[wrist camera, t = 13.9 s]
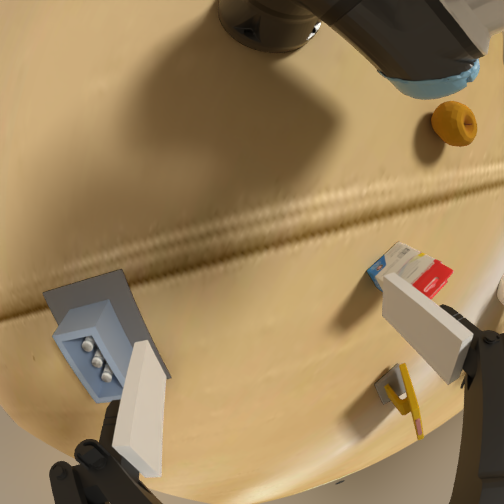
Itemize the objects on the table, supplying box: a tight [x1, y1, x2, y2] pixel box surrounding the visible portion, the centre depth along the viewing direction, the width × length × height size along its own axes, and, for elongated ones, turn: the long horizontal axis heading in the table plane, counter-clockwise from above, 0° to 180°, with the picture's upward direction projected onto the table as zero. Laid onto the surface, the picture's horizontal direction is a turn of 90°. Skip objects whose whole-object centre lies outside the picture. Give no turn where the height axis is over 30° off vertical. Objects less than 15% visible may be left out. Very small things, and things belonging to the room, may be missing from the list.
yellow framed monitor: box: [375, 363, 424, 440], centre depth 54 cm, size 20×8×16 cm, turn 31°
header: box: [43, 269, 171, 382], centre depth 40 cm, size 22×16×7 cm
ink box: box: [367, 242, 454, 299], centre depth 42 cm, size 8×5×15 cm, turn 128°
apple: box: [431, 101, 477, 147], centre depth 38 cm, size 9×8×9 cm
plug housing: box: [52, 299, 133, 403], centre depth 39 cm, size 14×8×8 cm, turn 12°
